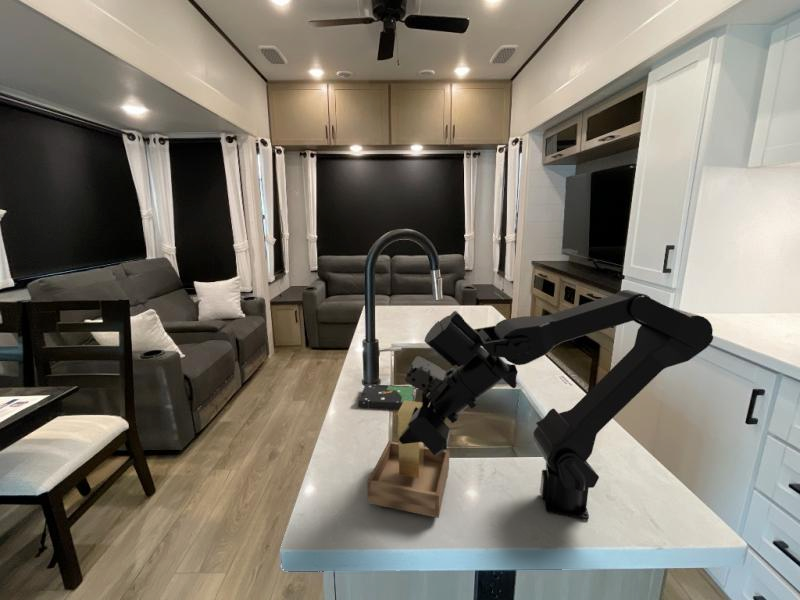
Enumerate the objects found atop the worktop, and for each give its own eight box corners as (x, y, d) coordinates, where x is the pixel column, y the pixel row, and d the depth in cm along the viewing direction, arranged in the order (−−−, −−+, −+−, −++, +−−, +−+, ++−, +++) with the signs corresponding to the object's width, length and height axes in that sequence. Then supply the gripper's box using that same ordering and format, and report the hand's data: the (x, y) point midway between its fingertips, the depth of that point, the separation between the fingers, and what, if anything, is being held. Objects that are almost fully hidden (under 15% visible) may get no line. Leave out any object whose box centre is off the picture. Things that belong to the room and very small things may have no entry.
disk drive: (357, 410, 94) (414, 412, 92) (357, 400, 93) (414, 402, 92) (365, 392, 104) (416, 394, 102) (365, 383, 103) (416, 385, 102)
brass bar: (423, 463, 65) (423, 402, 62) (418, 478, 61) (418, 413, 59) (405, 460, 66) (404, 400, 63) (399, 474, 62) (398, 411, 59)
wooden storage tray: (448, 474, 68) (449, 450, 67) (438, 523, 57) (439, 495, 56) (388, 463, 71) (388, 441, 70) (367, 508, 60) (367, 481, 59)
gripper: (443, 329, 66) (388, 379, 71) (423, 366, 49) (351, 428, 54) (485, 373, 66) (426, 420, 71) (479, 426, 48) (402, 483, 53)
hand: (403, 434), depth 62 cm, fingers closed on brass bar, 4 cm apart
